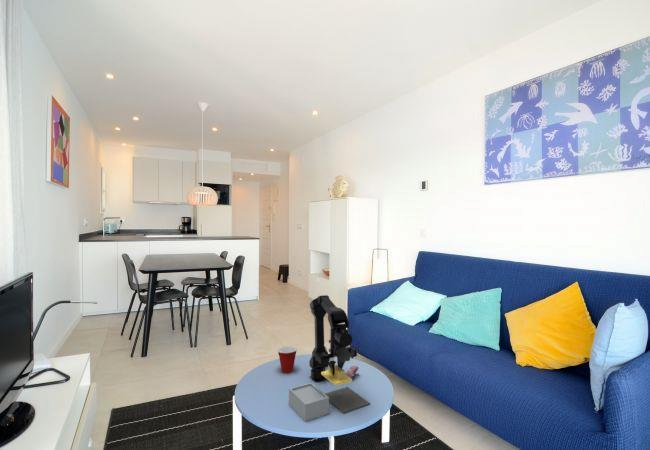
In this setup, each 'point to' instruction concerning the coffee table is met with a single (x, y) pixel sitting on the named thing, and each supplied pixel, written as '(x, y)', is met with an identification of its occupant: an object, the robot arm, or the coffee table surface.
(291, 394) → the box
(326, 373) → the lid
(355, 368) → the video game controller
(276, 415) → the coffee table surface
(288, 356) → the plastic cup
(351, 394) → the mat
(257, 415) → the coffee table surface
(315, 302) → the robot arm
